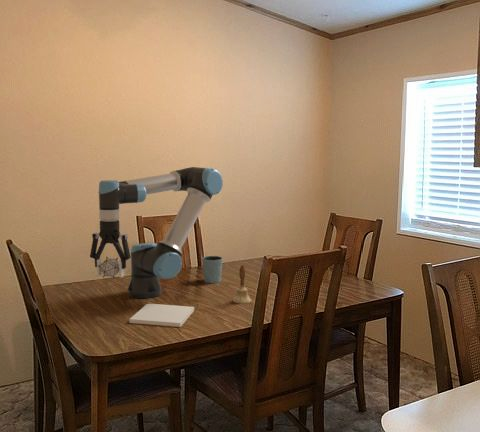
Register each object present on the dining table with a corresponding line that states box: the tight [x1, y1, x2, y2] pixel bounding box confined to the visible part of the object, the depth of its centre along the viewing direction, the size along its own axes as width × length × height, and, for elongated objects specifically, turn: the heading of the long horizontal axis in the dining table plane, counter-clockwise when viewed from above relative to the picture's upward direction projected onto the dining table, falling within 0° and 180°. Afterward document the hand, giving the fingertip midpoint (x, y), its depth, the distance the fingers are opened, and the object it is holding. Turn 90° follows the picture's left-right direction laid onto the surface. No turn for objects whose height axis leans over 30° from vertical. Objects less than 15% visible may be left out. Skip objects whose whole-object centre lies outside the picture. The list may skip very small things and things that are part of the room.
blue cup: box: [201, 255, 224, 284], centre depth 254 cm, size 10×10×12 cm
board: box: [128, 303, 195, 328], centre depth 200 cm, size 20×20×2 cm
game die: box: [98, 256, 119, 279], centre depth 202 cm, size 9×8×10 cm
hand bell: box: [232, 264, 252, 305], centre depth 222 cm, size 8×8×16 cm
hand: (110, 275), depth 202 cm, fingers closed on game die, 9 cm apart
